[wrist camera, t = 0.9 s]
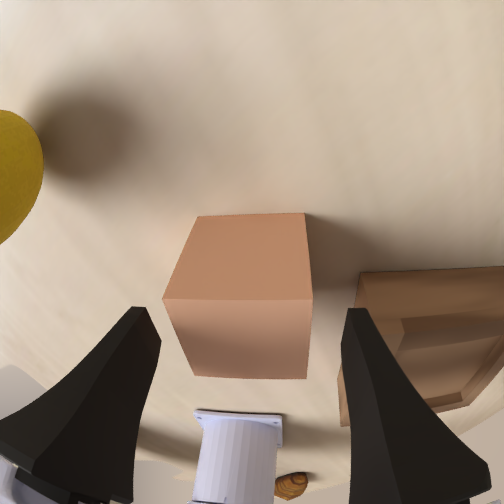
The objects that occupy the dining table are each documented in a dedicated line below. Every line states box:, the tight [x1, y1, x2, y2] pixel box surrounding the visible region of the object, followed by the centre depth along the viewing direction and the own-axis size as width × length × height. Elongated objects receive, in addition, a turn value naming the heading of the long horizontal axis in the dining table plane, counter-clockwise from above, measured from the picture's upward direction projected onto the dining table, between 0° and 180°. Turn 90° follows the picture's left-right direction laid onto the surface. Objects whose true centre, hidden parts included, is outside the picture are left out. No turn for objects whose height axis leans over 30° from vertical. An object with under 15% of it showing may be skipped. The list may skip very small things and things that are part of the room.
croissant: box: [274, 472, 308, 501], centre depth 42 cm, size 14×7×5 cm, turn 169°
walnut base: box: [337, 266, 504, 427], centre depth 15 cm, size 10×10×4 cm
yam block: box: [162, 213, 313, 379], centre depth 12 cm, size 4×4×5 cm
